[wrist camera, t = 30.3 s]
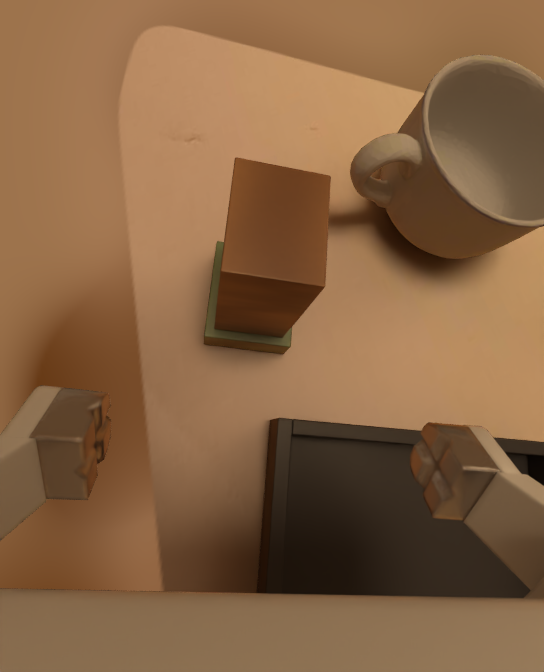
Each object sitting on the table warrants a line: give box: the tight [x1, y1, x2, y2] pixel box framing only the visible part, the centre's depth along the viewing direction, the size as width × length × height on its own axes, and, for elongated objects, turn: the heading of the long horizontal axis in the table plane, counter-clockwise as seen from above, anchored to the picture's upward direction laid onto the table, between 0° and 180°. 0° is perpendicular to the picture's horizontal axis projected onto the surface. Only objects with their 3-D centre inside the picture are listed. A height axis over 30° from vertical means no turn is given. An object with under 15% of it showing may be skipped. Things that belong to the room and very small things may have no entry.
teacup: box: [350, 55, 544, 259], centre depth 25 cm, size 14×11×8 cm
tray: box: [257, 418, 544, 598], centre depth 21 cm, size 18×14×3 cm
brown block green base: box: [204, 158, 331, 354], centre depth 20 cm, size 5×6×10 cm
